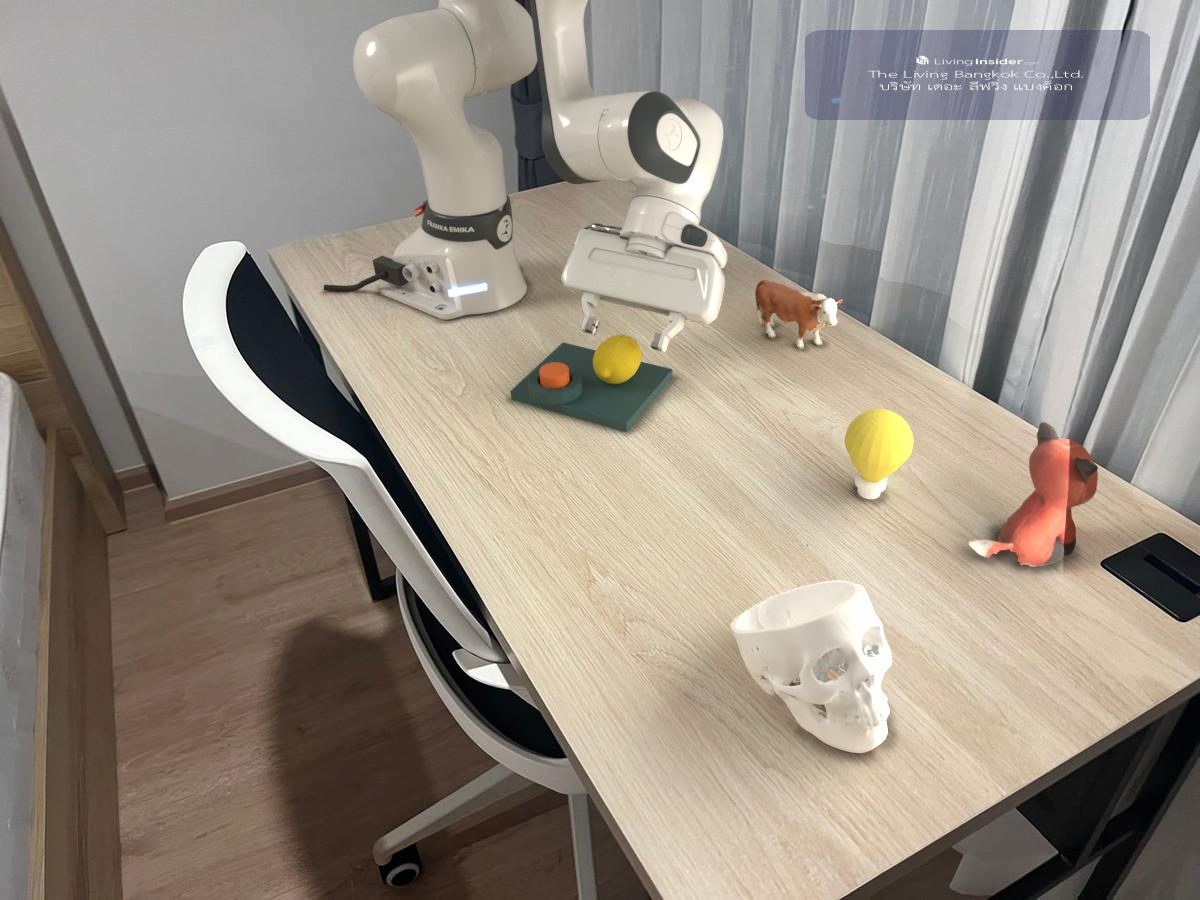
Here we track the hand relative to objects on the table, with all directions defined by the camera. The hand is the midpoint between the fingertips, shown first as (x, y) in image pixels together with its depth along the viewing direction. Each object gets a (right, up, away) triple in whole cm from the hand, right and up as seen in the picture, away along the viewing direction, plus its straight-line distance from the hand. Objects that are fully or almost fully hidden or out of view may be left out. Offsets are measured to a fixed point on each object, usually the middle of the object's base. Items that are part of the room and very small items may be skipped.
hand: (622, 341), depth 109 cm
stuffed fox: (+38, -23, -21) cm, 49 cm away
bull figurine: (+23, +1, +12) cm, 26 cm away
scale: (-4, -6, +4) cm, 8 cm away
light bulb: (+26, -18, -13) cm, 34 cm away
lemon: (-3, -4, -1) cm, 5 cm away
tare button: (-8, -5, +1) cm, 10 cm away
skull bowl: (+15, -33, -33) cm, 49 cm away
